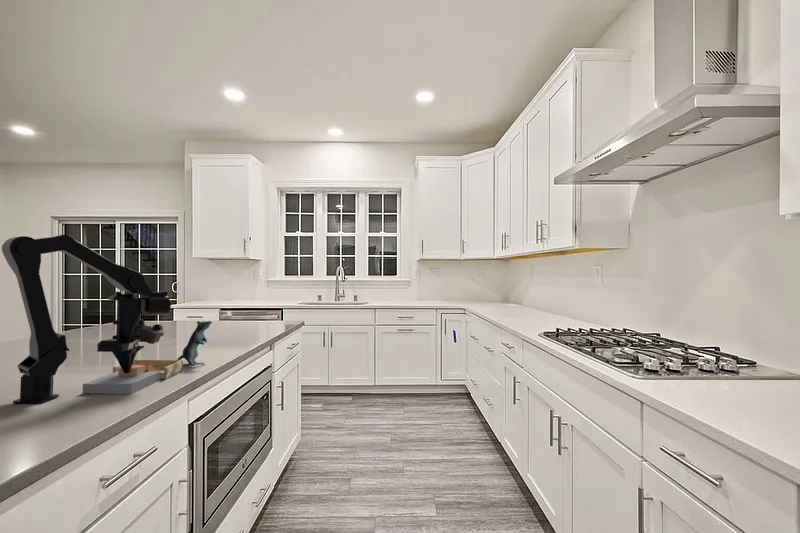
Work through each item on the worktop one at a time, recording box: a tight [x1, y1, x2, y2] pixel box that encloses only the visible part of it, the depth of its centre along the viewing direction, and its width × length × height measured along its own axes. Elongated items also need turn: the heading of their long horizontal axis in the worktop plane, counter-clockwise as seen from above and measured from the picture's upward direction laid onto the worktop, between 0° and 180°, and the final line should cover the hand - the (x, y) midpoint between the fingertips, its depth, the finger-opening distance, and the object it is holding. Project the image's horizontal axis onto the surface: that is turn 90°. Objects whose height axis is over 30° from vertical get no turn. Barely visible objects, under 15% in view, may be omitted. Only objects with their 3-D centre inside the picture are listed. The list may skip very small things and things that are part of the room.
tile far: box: [132, 363, 155, 371], centre depth 134 cm, size 5×5×2 cm
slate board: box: [82, 371, 160, 395], centre depth 124 cm, size 16×12×2 cm
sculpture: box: [176, 320, 213, 367], centre depth 156 cm, size 8×11×15 cm
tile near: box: [118, 365, 146, 376], centre depth 128 cm, size 5×5×2 cm
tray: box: [112, 359, 184, 381], centre depth 138 cm, size 12×15×4 cm
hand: (126, 373), depth 125 cm, fingers closed
